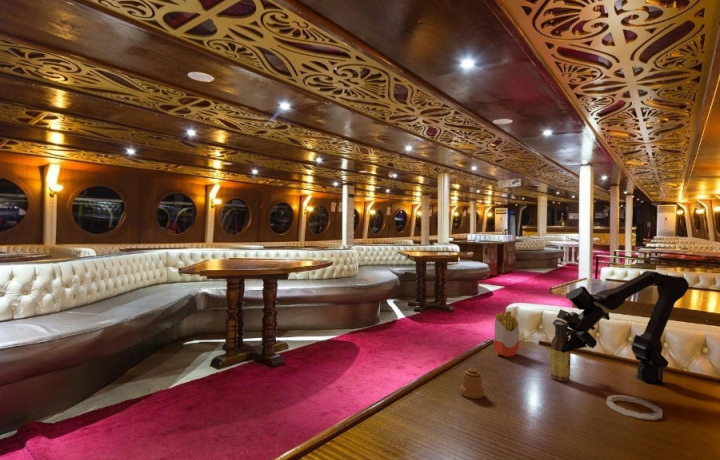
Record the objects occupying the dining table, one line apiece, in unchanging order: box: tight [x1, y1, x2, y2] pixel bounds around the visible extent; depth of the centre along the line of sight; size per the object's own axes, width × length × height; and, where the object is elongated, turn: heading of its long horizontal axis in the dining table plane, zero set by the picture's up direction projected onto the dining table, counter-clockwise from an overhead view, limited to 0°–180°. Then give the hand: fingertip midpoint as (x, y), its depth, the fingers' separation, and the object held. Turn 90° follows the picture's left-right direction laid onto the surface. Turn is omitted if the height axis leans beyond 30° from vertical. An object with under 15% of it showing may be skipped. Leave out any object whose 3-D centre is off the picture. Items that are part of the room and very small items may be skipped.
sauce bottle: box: [550, 322, 571, 382], centre depth 137 cm, size 6×6×20 cm
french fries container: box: [493, 310, 520, 358], centre depth 164 cm, size 5×11×18 cm, turn 122°
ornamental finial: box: [459, 367, 486, 400], centre depth 121 cm, size 8×8×8 cm
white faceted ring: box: [606, 394, 663, 421], centre depth 115 cm, size 13×13×1 cm
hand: (556, 349), depth 137 cm, fingers closed on sauce bottle, 6 cm apart
